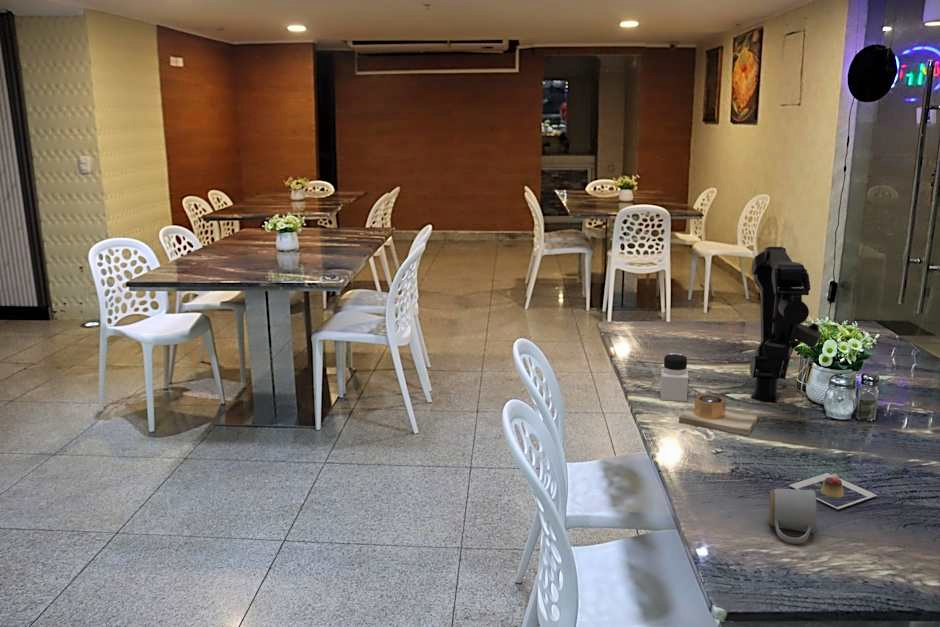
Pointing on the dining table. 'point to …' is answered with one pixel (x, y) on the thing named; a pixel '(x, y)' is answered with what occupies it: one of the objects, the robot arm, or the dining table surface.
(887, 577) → the dining table surface
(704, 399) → the piston
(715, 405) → the ring
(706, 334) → the dining table surface
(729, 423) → the piston stand
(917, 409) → the dining table surface
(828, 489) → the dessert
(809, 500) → the ceramic mug
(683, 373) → the medicine bottle
